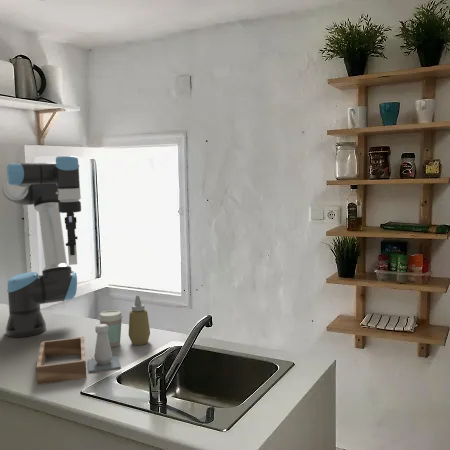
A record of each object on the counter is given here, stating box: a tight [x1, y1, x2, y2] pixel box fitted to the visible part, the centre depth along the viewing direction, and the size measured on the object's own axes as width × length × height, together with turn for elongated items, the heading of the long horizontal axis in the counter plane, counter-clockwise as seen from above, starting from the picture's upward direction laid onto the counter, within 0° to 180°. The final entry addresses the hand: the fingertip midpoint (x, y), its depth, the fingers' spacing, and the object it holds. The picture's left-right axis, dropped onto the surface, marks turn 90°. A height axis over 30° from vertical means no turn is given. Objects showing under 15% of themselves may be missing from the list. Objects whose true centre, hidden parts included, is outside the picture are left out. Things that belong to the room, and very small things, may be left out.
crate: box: [35, 336, 88, 385], centre depth 165 cm, size 24×14×6 cm, turn 17°
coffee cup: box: [98, 309, 123, 348], centre depth 185 cm, size 8×8×12 cm
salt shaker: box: [94, 324, 113, 365], centre depth 166 cm, size 6×6×13 cm
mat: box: [87, 355, 121, 373], centre depth 166 cm, size 10×10×1 cm
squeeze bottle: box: [128, 294, 151, 346], centre depth 185 cm, size 8×8×18 cm
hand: (73, 261), depth 177 cm, fingers open, 13 cm apart
